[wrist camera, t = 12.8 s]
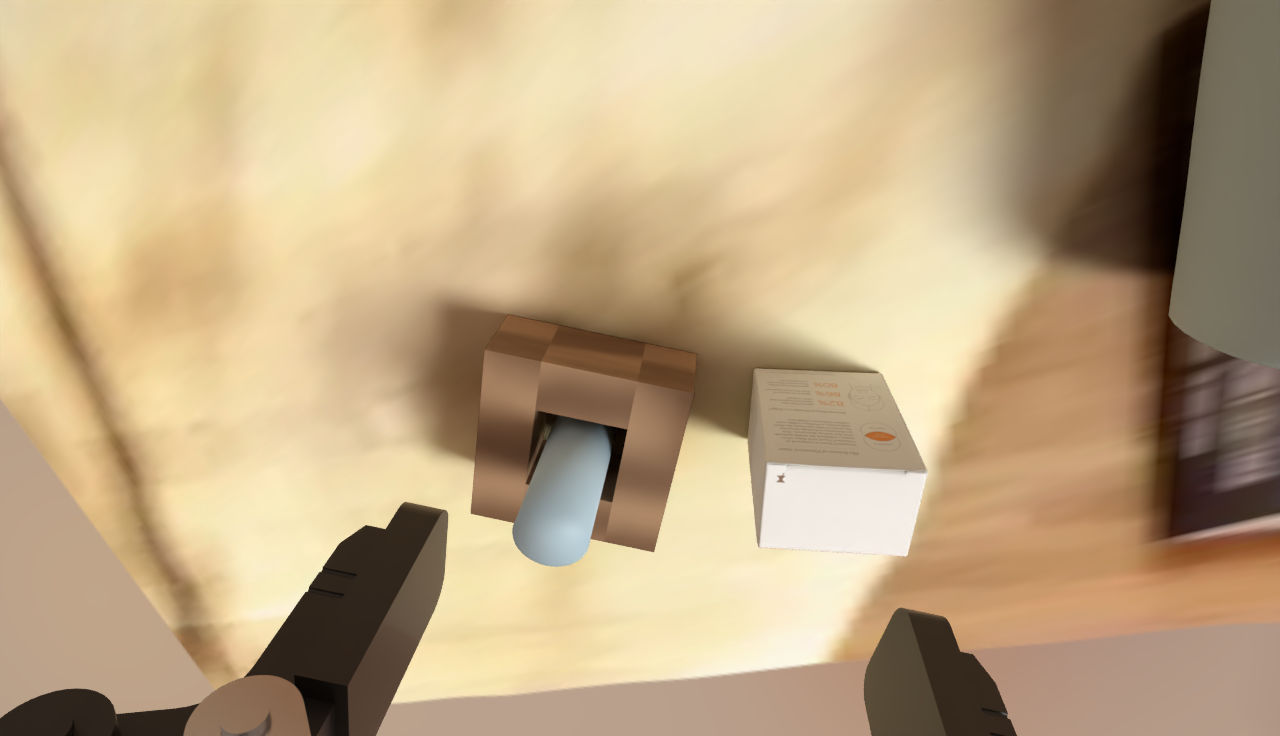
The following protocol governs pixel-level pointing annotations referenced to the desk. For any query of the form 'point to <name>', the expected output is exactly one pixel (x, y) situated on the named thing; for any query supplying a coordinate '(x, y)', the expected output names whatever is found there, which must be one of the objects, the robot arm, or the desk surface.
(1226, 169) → the pencil case
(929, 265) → the desk surface
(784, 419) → the small box
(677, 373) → the socket block
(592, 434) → the peg
